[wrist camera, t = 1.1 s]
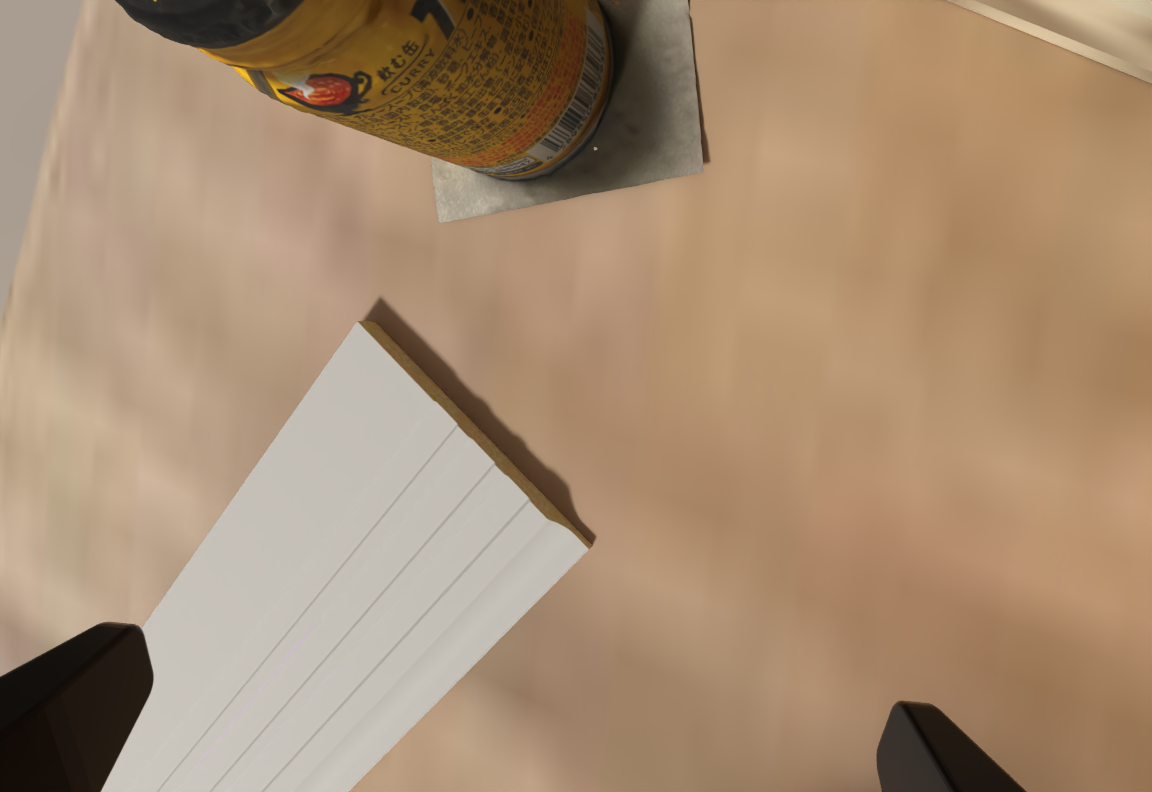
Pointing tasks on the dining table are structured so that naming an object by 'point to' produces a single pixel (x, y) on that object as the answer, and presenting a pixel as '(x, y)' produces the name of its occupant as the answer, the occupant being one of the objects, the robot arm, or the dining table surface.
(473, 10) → the condiment
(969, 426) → the dining table surface
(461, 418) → the baseboard molding
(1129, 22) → the caddy
